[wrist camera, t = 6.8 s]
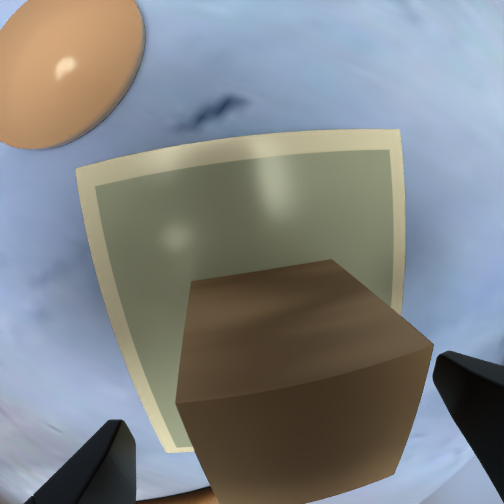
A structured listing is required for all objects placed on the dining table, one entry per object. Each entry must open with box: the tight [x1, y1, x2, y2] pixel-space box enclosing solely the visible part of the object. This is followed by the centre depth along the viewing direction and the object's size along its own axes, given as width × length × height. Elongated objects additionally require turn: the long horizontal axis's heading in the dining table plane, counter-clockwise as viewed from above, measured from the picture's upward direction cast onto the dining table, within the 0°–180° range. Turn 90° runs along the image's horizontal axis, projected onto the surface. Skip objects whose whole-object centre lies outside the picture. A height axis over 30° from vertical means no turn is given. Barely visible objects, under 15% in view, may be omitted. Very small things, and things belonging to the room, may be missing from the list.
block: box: [175, 259, 434, 504], centre depth 8 cm, size 5×5×6 cm
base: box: [75, 129, 405, 453], centre depth 13 cm, size 12×14×3 cm
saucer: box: [0, 0, 145, 149], centre depth 10 cm, size 9×9×1 cm
